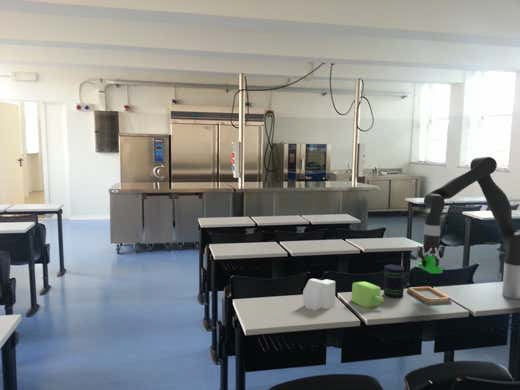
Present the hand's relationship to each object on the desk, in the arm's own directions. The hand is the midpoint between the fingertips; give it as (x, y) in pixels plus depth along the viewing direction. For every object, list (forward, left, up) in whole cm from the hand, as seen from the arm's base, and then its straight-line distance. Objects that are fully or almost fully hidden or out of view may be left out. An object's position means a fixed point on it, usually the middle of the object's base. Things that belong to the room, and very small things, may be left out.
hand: (429, 266), depth 211 cm
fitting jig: (0, 0, -16) cm, 16 cm away
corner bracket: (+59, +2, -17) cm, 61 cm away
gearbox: (+34, +3, -17) cm, 38 cm away
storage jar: (+16, -6, -16) cm, 24 cm away
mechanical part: (0, 0, -2) cm, 2 cm away
